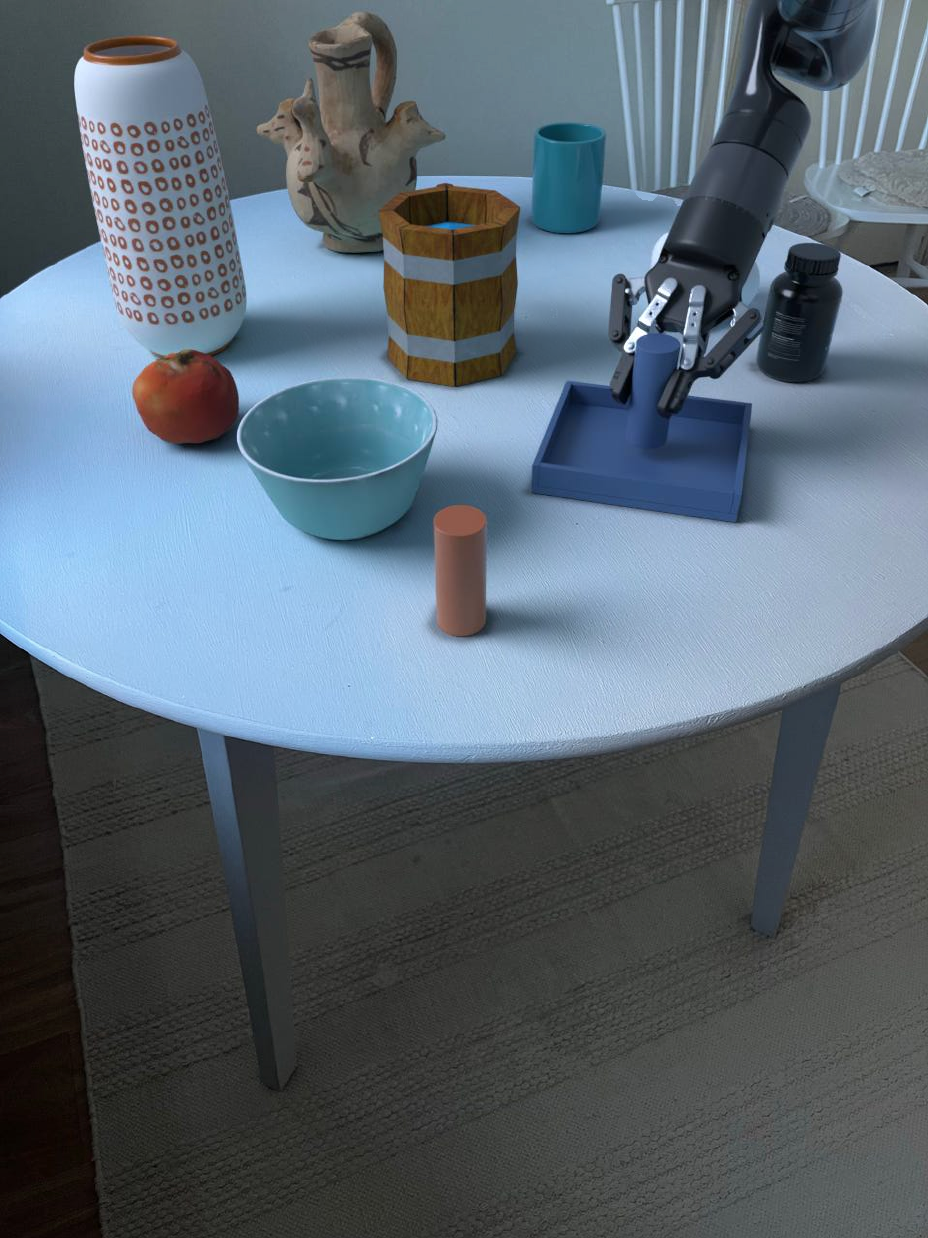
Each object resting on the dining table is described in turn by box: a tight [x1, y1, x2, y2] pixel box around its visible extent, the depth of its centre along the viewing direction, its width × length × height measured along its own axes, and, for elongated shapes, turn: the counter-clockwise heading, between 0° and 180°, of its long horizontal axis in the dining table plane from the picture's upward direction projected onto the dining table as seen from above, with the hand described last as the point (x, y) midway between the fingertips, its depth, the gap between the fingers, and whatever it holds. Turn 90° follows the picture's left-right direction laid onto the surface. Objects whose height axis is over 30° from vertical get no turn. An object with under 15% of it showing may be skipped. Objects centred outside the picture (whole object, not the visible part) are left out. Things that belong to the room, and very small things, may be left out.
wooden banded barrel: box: [378, 182, 521, 388], centre depth 102 cm, size 20×14×15 cm
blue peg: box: [626, 333, 682, 449], centre depth 85 cm, size 4×4×9 cm
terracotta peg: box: [433, 504, 488, 637], centre depth 70 cm, size 4×4×9 cm
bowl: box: [236, 376, 438, 541], centre depth 81 cm, size 16×16×8 cm
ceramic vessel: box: [256, 11, 447, 253], centre depth 120 cm, size 18×19×25 cm
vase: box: [73, 35, 248, 359], centre depth 98 cm, size 13×13×28 cm
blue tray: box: [530, 380, 753, 523], centre depth 89 cm, size 17×15×3 cm
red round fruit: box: [131, 350, 240, 445], centre depth 91 cm, size 9×9×8 cm
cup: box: [530, 121, 607, 234], centre depth 131 cm, size 9×12×11 cm
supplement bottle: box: [755, 242, 844, 383], centre depth 98 cm, size 7×7×12 cm
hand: (640, 407), depth 84 cm, fingers closed on blue peg, 3 cm apart
